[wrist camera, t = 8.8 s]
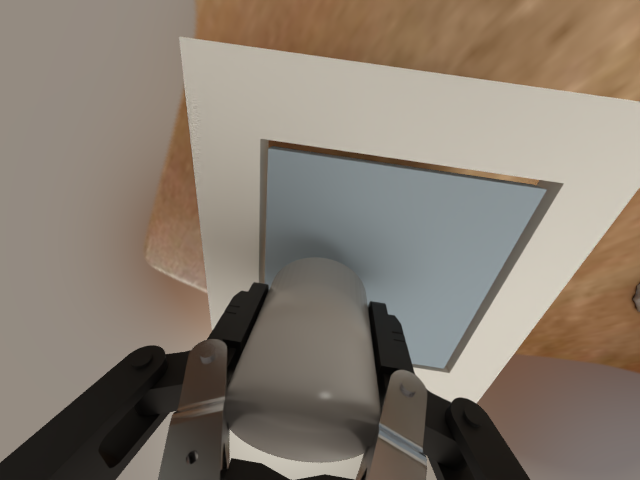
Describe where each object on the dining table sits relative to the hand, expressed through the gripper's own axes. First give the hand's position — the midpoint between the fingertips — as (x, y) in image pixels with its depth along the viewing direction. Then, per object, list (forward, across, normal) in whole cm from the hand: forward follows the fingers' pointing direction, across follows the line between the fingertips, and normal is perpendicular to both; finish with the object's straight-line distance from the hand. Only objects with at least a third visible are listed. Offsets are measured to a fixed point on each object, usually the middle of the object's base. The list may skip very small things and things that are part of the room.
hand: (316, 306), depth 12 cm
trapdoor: (+4, -3, 0) cm, 5 cm away
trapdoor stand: (+19, -3, 0) cm, 20 cm away
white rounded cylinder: (+1, 0, 0) cm, 1 cm away
